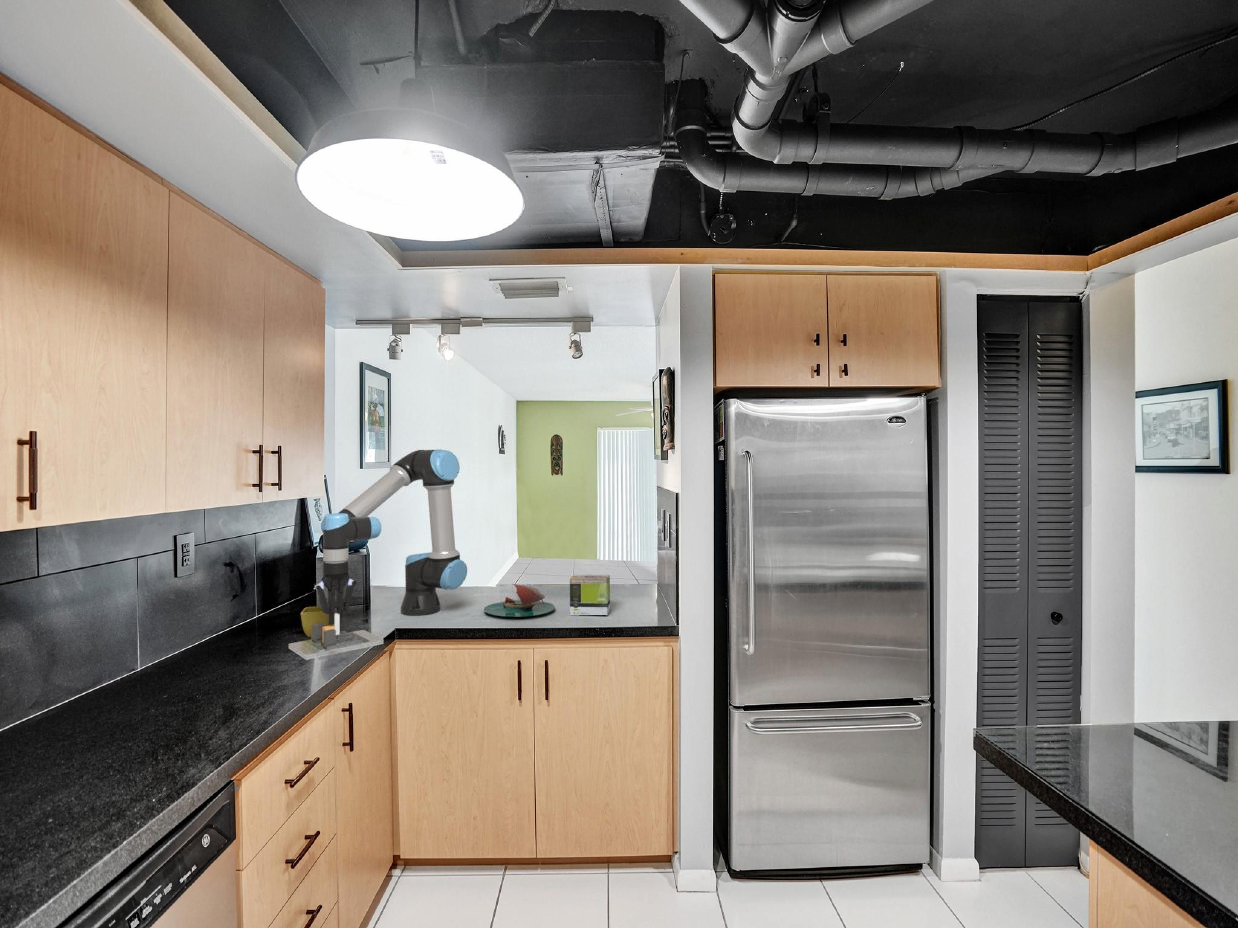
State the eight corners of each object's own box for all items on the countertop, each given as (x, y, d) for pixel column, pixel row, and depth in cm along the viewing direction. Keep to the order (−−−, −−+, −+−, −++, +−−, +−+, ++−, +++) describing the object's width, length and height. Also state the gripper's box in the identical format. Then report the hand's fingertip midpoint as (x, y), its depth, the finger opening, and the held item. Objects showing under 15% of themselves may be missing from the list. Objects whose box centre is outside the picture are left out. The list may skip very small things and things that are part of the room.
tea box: (610, 610, 254) (610, 574, 254) (607, 617, 244) (607, 578, 244) (573, 609, 255) (573, 573, 255) (569, 615, 245) (569, 578, 245)
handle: (333, 644, 199) (333, 628, 199) (335, 646, 198) (335, 630, 198) (323, 646, 197) (323, 630, 197) (325, 647, 196) (325, 632, 196)
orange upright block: (332, 640, 204) (332, 625, 204) (334, 641, 203) (334, 626, 203) (322, 642, 202) (322, 626, 202) (324, 643, 200) (324, 628, 200)
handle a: (321, 638, 207) (321, 623, 207) (324, 639, 205) (324, 624, 205) (312, 639, 204) (312, 624, 204) (314, 641, 203) (314, 625, 203)
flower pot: (300, 639, 212) (300, 612, 211) (305, 632, 220) (305, 606, 220) (328, 637, 214) (328, 611, 214) (332, 630, 222) (332, 605, 222)
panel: (363, 633, 218) (363, 626, 218) (383, 643, 207) (383, 636, 207) (288, 648, 201) (288, 640, 201) (305, 659, 190) (305, 651, 190)
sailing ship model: (538, 623, 234) (538, 593, 234) (470, 617, 241) (470, 588, 241) (564, 606, 261) (565, 579, 261) (503, 601, 268) (503, 575, 268)
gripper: (351, 557, 211) (351, 628, 211) (310, 562, 202) (310, 635, 202) (360, 560, 206) (360, 632, 206) (318, 564, 196) (318, 640, 197)
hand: (335, 633), depth 204 cm, fingers closed
